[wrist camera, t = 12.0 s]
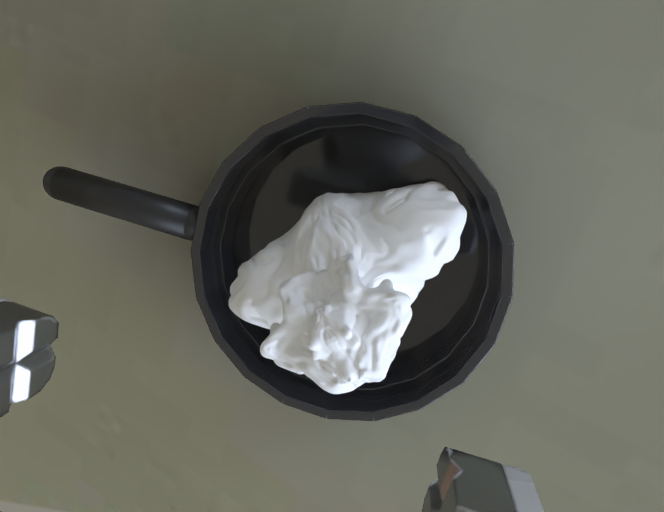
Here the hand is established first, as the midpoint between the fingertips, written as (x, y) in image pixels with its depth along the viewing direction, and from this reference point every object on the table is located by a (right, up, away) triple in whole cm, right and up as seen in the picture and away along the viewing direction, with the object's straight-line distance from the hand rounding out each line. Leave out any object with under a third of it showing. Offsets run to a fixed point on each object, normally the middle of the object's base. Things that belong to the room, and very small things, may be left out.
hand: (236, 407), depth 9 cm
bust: (+3, +3, +16) cm, 17 cm away
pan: (+3, +3, +16) cm, 17 cm away
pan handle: (-9, +6, +16) cm, 19 cm away
